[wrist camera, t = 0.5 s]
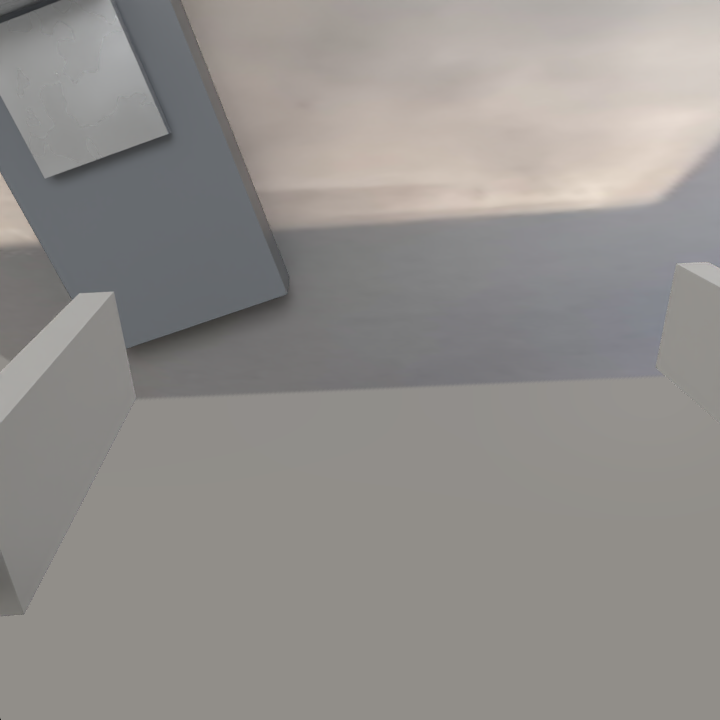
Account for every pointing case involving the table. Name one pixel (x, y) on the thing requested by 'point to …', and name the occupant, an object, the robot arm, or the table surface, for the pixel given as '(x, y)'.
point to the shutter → (75, 83)
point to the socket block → (155, 199)
